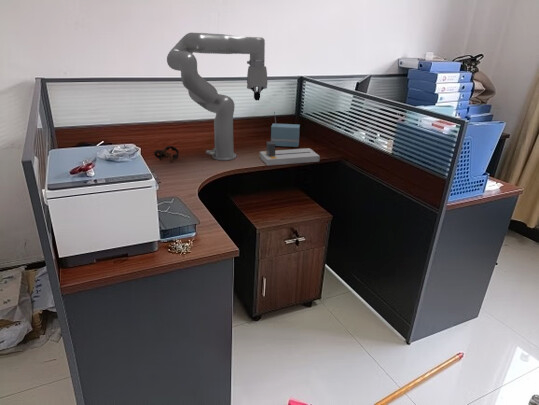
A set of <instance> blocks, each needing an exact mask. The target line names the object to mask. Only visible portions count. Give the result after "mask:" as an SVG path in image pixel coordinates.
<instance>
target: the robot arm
mask: <svg viewBox="0 0 539 405" xmlns="http://www.w3.org/2000/svg"><path fill="white" fill-rule="evenodd" d="M265 45H266V42H265V38H264V37H258V36H257V37H255V36H254V37H253V36H240V35H239V36H238V35H231V34H223V33H222V34H221V33H207V32H188V33H186V34H184V36H183V37H181V39H179V41H178V42H177V43H176V44H175V45H174V46H173V47H172V48H171V49H170V51H169V52H168V54H167V56H166V62H167V66H168V67H169V68H171V69H172V70H174V71H180V78H181V82H182V85H183V87H184V88H185V89H186V90H187V92H188V96H189V97H190V99H191V100H192V101H194V103H196V104H198V105H199V106H200V107H202V108H203V109H204V110H207V112H210V113H213V114H215V117H214V120H213V130H214V131H213V132H214V135H213V136H214V147H213V149H211V150H210V149H209V150H207V149H206V150H205V154H206V155H209V156H211V155H212V159H213V160H216V161H232V160H234V159H237V154H236V153H235V152H234V112H235V102H234V100H233V98H231V97H230V96H228V95H224V94H220V93H218V90H217V89H216V87H215V86H214V85H212V84H211V83H210V82H208V81H207V80H206V79H205V78H203V77H202V76H201V75H200V74H199V72H198V71H199V70H198V61H197V58H196V56H195V55H194V53H196V54H207V55H208V54H211V55H212V54H213V55H214V54H217V55H219V54H220V55H249V60H247V61H246V64H247V65H249V66H248V67H247V74H246V75H247V76H246V89H248V90H251V91H252V92H253V99H254V100H255V101H260V99H261V93H262V92H263V90H265V89H268V71H267V70H268V69H267V67H266V65H265V62H266V60H265V58H266V57H265V55H266V54H265V53H266V51H265V50H266V49H265V47H266V46H265Z"/></svg>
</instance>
